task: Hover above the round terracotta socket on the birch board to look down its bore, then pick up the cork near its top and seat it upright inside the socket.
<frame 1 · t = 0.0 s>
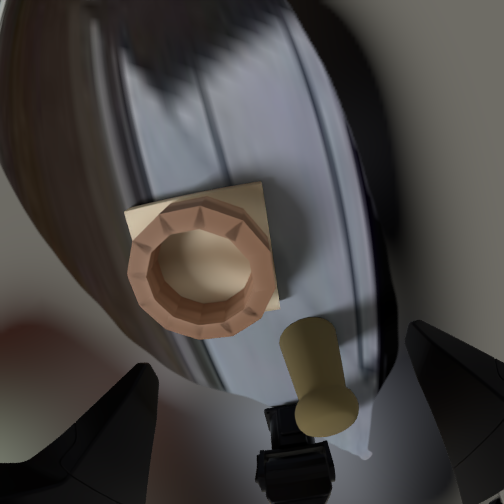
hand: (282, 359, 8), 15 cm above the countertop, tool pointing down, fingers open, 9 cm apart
cork: (307, 338, 27), on the countertop
socket board: (206, 257, 23), on the countertop
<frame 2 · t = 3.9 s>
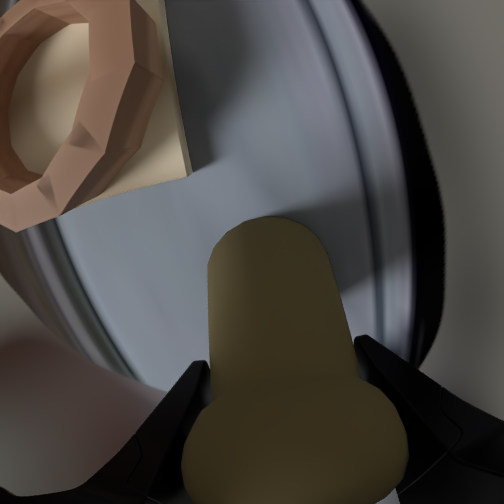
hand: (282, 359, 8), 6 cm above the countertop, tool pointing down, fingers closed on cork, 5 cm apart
cork: (268, 274, 13), on the countertop, touching gripper
socket board: (69, 98, 9), on the countertop
when the fingers open (8 cm above the countertop, at t = 8.1 s): cork drops 1 cm, resting on socket board.
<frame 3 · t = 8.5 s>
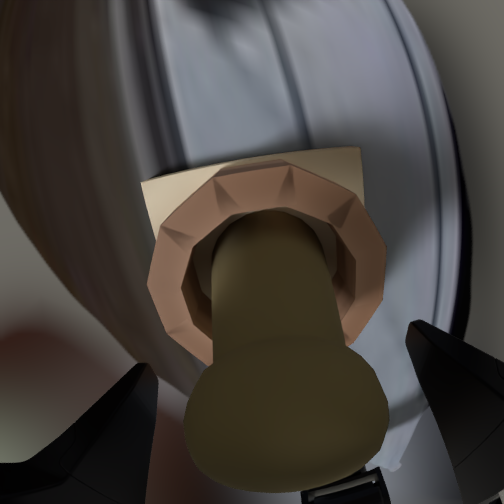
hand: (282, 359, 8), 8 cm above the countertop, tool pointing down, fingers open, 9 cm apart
cork: (268, 264, 14), point 1 cm above the countertop, touching socket board
socket board: (265, 255, 15), on the countertop
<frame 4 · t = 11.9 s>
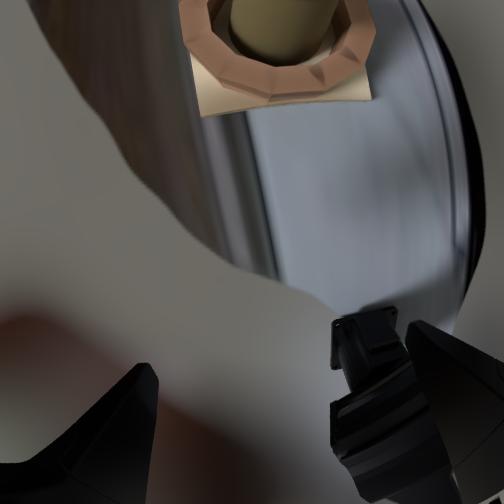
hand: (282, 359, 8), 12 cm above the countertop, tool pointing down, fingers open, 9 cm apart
cork: (276, 28, 12), point 1 cm above the countertop, touching socket board
socket board: (273, 33, 13), on the countertop
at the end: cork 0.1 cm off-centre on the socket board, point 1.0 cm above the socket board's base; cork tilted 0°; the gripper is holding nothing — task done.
